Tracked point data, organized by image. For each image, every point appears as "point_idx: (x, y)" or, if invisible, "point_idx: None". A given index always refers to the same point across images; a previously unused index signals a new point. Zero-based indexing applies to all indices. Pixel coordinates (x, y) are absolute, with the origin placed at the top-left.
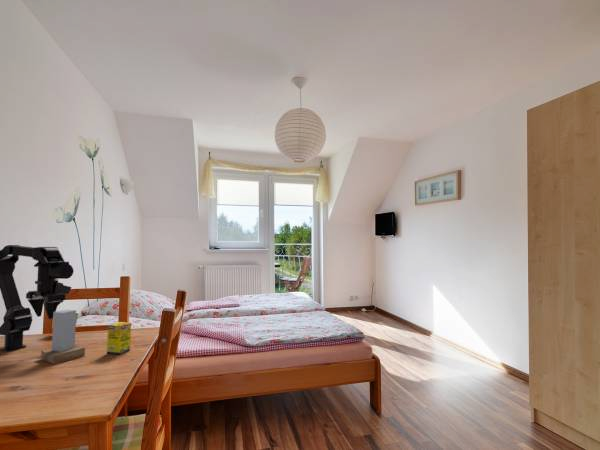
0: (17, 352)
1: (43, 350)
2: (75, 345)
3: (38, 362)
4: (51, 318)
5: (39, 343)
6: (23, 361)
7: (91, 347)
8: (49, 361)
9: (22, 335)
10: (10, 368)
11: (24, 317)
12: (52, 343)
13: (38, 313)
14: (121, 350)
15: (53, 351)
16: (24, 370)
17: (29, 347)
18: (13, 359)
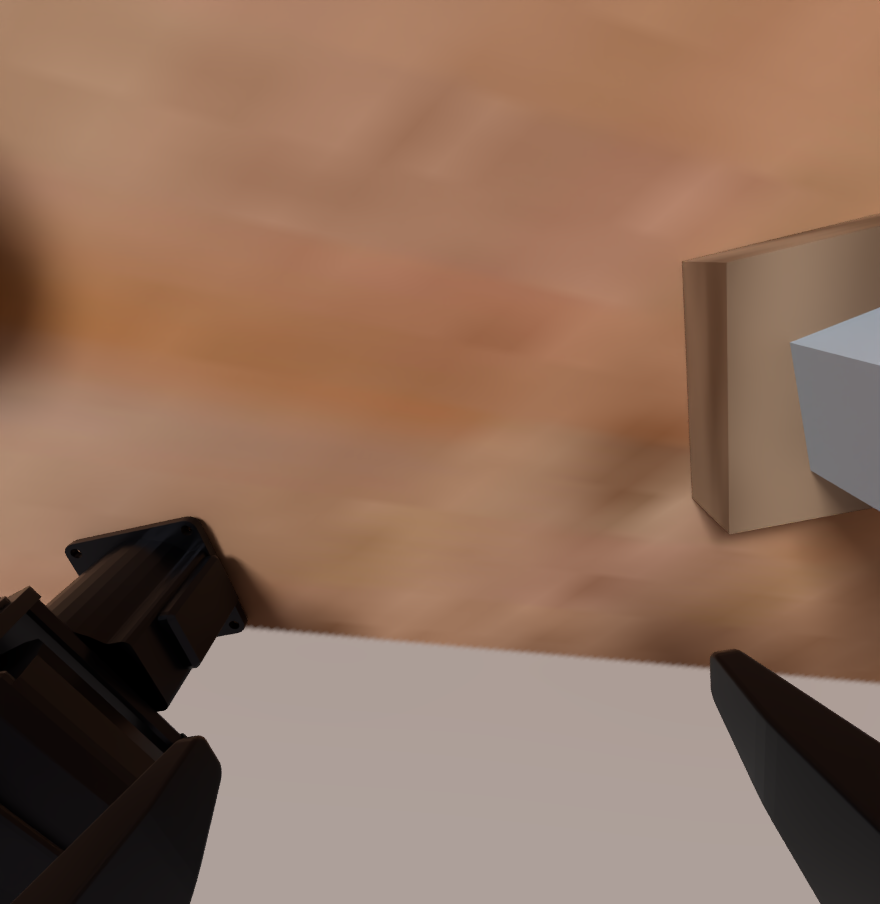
0: (333, 579)
1: (734, 519)
2: (864, 241)
3: None
4: (739, 666)
5: (117, 416)
6: (634, 583)
7: (729, 11)
8: None
9: (118, 609)
10: None
11: (34, 848)
12: (873, 501)
13: (184, 839)
14: None
15: None
16: (861, 606)
17: (224, 499)
18: (519, 617)
